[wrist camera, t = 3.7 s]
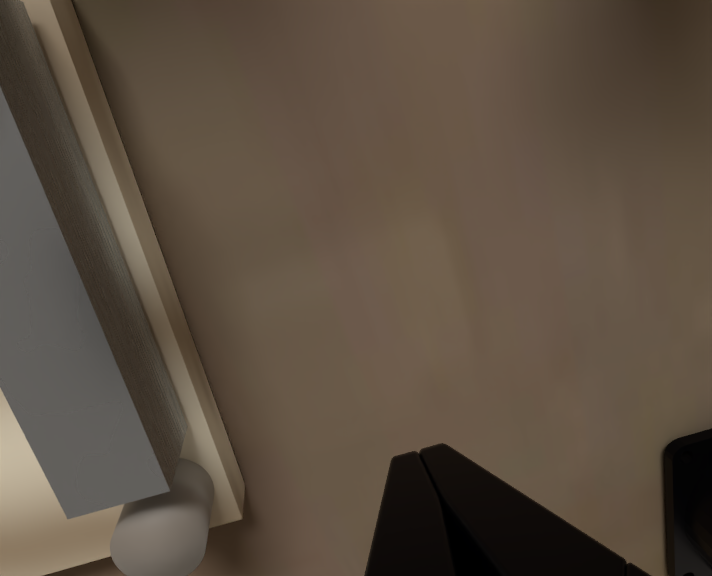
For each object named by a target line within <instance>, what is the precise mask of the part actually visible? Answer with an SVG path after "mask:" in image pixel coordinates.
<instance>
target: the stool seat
mask: <svg viewBox="0 0 712 576" xmlns="http://www.w3.org/2000/svg"><path fill="white" fill-rule="evenodd" d="M20 1H23V2H24V5H25V8H26V10H27V13H28V15H29V18H30V20H31V23H32V26H33V28H34V31H35V33H36V36H37V39H38V41H39V44H40V46H41V49H42V51H43V54H44V57H45V59H46V62H47V64H48V67H49V70H50V72H51V75H52V77H53V80H54V82H55V85H56V88H57V90H58V93H59V95H60V98H61V101H62V103H63V106H64V108H65V111H66V114H67V116H68V119H69V121H70V124H71V126H72V129H73V132H74V134H75V137H76V139H77V142H78V145H79V147H80V150H81V152H82V155H83V157H84V160H85V163H86V165H87V168H88V170H89V173H90V176H91V178H92V181H93V183H94V186H95V189H96V191H97V194H98V196H99V199H100V201H101V204H102V207H103V209H104V212H105V214H106V217H107V220H108V222H109V225H110V227H111V230H112V232H113V235H114V238H115V240H116V243H117V245H118V248H119V251H120V253H121V256H122V258H123V261H124V263H125V266H126V269H127V271H128V274H129V276H130V279H131V282H132V284H133V287H134V289H135V292H136V295H137V297H138V300H139V302H140V305H141V307H142V310H143V313H144V315H145V318H146V320H147V323H148V326H149V328H150V331H151V333H152V336H153V338H154V341H155V344H156V346H157V349H158V351H159V354H160V357H161V359H162V362H163V364H164V367H165V369H166V372H167V375H168V377H169V380H170V382H171V385H172V388H173V390H174V393H175V395H176V398H177V401H178V403H179V406H180V408H181V411H182V413H183V416H184V419H185V421H186V424H187V426H188V427H187V431H186V434H185V438H184V442H183V446H182V449H181V453H180V457H179V460H178V464H177V468H176V472H175V475H174V479H173V483H172V486H171V490H170V491H169V492H165V493H162V494H158V495H155V496H151V497H147V498H144V499H140V500H136V501H133V502H129V503H126V504H122V505H118V506H115V507H111V508H108V509H104V510H100V511H97V512H93V513H90V514H86V515H82V516H79V517H75V518H72V519H67V517H66V515H65V513H64V511H63V509H62V507H61V505H60V504H59V502H58V500H57V498H56V496H55V494H54V492H53V490H52V488H51V486H50V484H49V482H48V480H47V478H46V476H45V474H44V472H43V470H42V468H41V466H40V464H39V463H38V461H37V459H36V457H35V455H34V453H33V451H32V449H31V447H30V445H29V443H28V441H27V439H26V437H25V435H24V433H23V431H22V429H21V427H20V425H19V423H18V422H17V420H16V418H15V416H14V414H13V412H12V410H11V408H10V406H9V404H8V402H7V400H6V398H5V396H4V394H3V392H2V390H1V388H0V576H43V575H46V574H50V573H53V572H57V571H60V570H64V569H68V568H71V567H75V566H78V565H82V564H85V563H89V562H92V561H96V560H99V559H103V558H106V557H110V556H111V557H112V559H113V561H114V563H115V565H116V566H117V567H118V569H119V570H121V571H122V572H123V573H124V574H126V575H127V576H187V575H188V574H190V573H191V572H192V571H194V570H195V569H196V568H197V567H198V565H199V564H200V563H201V561H202V559H203V557H204V554H205V550H206V544H207V537H208V531H209V528H213V527H216V526H220V525H223V524H227V523H230V522H234V521H237V520H241V519H242V518H243V505H244V492H245V483H244V480H243V477H242V475H241V472H240V469H239V466H238V464H237V461H236V458H235V455H234V452H233V450H232V447H231V444H230V441H229V439H228V436H227V433H226V430H225V427H224V425H223V422H222V419H221V416H220V413H219V411H218V408H217V405H216V402H215V400H214V397H213V394H212V391H211V388H210V386H209V383H208V380H207V377H206V374H205V372H204V369H203V366H202V363H201V361H200V358H199V355H198V352H197V349H196V347H195V344H194V341H193V338H192V336H191V333H190V330H189V327H188V324H187V322H186V319H185V316H184V313H183V310H182V308H181V305H180V302H179V299H178V297H177V294H176V291H175V288H174V285H173V283H172V280H171V277H170V274H169V272H168V269H167V266H166V263H165V260H164V258H163V255H162V252H161V249H160V246H159V244H158V241H157V238H156V235H155V233H154V230H153V227H152V224H151V221H150V219H149V216H148V213H147V210H146V208H145V205H144V202H143V199H142V196H141V194H140V191H139V188H138V185H137V182H136V180H135V177H134V174H133V171H132V169H131V166H130V163H129V160H128V157H127V155H126V152H125V149H124V146H123V143H122V141H121V138H120V135H119V132H118V130H117V127H116V124H115V121H114V118H113V116H112V113H111V110H110V107H109V105H108V102H107V99H106V96H105V93H104V91H103V88H102V85H101V82H100V79H99V77H98V74H97V71H96V68H95V66H94V63H93V60H92V57H91V54H90V52H89V49H88V46H87V43H86V41H85V38H84V35H83V32H82V29H81V27H80V24H79V21H78V18H77V15H76V13H75V10H74V7H73V4H72V2H71V0H20Z"/></svg>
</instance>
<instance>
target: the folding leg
mask: <svg viewBox="0 0 712 576" xmlns="http://www.w3.org/2000/svg"><path fill="white" fill-rule="evenodd" d="M0 388H1V390H2V392H3V394H4V396H5V398H6V400H7V402H8V404H9V406H10V408H11V410H12V412H13V414H14V416H15V418H16V420H17V422H18V423H19V425H20V427H21V429H22V431H23V433H24V435H25V437H26V439H27V441H28V443H29V445H30V447H31V449H32V451H33V453H34V455H35V457H36V459H37V461H38V463H39V464H40V466H41V468H42V470H43V472H44V474H45V476H46V478H47V480H48V482H49V484H50V486H51V488H52V490H53V492H54V494H55V496H56V498H57V500H58V502H59V504H60V505H61V507H62V509H63V511H64V513H65V515H66V517H67V519H72V518H75V517H79V516H82V515H86V514H90V513H93V512H97V511H100V510H104V509H108V508H111V507H115V506H118V505H122V504H126V503H129V502H133V501H136V500H140V499H144V498H147V497H151V496H155V495H158V494H162V493H165V492H169V491H170V490H171V486H172V483H173V479H174V475H175V472H176V468H177V464H178V460H179V457H180V453H181V449H182V446H183V442H184V438H185V434H186V431H187V427H188V426H187V424H186V421H185V419H184V416H183V413H182V411H181V408H180V406H179V403H178V401H177V398H176V395H175V393H174V390H173V388H172V385H171V382H170V380H169V377H168V375H167V372H166V369H165V367H164V364H163V362H162V359H161V357H160V354H159V351H158V349H157V346H156V344H155V341H154V338H153V336H152V333H151V331H150V328H149V326H148V323H147V320H146V318H145V315H144V313H143V310H142V307H141V305H140V302H139V300H138V297H137V295H136V292H135V289H134V287H133V284H132V282H131V279H130V276H129V274H128V271H127V269H126V266H125V263H124V261H123V258H122V256H121V253H120V251H119V248H118V245H117V243H116V240H115V238H114V235H113V232H112V230H111V227H110V225H109V222H108V220H107V217H106V214H105V212H104V209H103V207H102V204H101V201H100V199H99V196H98V194H97V191H96V189H95V186H94V183H93V181H92V178H91V176H90V173H89V170H88V168H87V165H86V163H85V160H84V157H83V155H82V152H81V150H80V147H79V145H78V142H77V139H76V137H75V134H74V132H73V129H72V126H71V124H70V121H69V119H68V116H67V114H66V111H65V108H64V106H63V103H62V101H61V98H60V95H59V93H58V90H57V88H56V85H55V82H54V80H53V77H52V75H51V72H50V70H49V67H48V64H47V62H46V59H45V57H44V54H43V51H42V49H41V46H40V44H39V41H38V39H37V36H36V33H35V31H34V28H33V26H32V23H31V20H30V18H29V15H28V13H27V10H26V8H25V5H24V2H23V1H20V0H0Z"/></svg>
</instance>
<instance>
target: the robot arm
mask: <svg viewBox="0 0 712 576" xmlns="http://www.w3.org/2000/svg"><path fill="white" fill-rule="evenodd" d="M682 453H683V454H682ZM681 454H682V455H681ZM664 458H665V491H666V524H667V557H668V575H669V576H712V429H709V430H705V431H702V432H698V433H695V434H691V435H688V436H684V437H681V438H677V439H675V440H673V441H672V442H671V443H669V444H668V446H667V447H666V449H665V454H664ZM364 576H651V575H649V574H648V573H646V572H645V571H643V570H642V569H640V568H638V567H637V566H635V565H634V564H632V563H628V564H626V560H625V559H624V558H622V557H621V556H619V555H618V554H616V553H615V552H613V551H612V550H610V549H608V548H607V547H605V546H604V545H602V544H601V543H599V542H598V541H596V540H594V539H593V538H591V537H590V536H588V535H587V534H585V533H584V532H582V531H580V530H579V529H577V528H576V527H574V526H573V525H571V524H570V523H568V522H566V521H565V520H563V519H562V518H560V517H559V516H557V515H556V514H554V513H552V512H551V511H549V510H548V509H546V508H545V507H543V506H542V505H540V504H538V503H537V502H535V501H534V500H532V499H531V498H529V497H528V496H526V495H524V494H523V493H521V492H520V491H518V490H517V489H515V488H514V487H512V486H510V485H509V484H507V483H506V482H504V481H503V480H501V479H500V478H498V477H496V476H495V475H493V474H492V473H490V472H489V471H487V470H486V469H484V468H482V467H481V466H479V465H478V464H476V463H475V462H473V461H472V460H470V459H468V458H467V457H465V456H464V455H462V454H461V453H459V452H458V451H456V450H454V449H453V448H451V447H450V446H448V445H446V444H443V443H441V444H437V445H433V446H430V447H426V448H423V449H421V450H420V452H419V453H418V452H416V451H412V452H408V453H405V454H401V455H397V456H395V457H393V458H392V460H391V463H390V467H389V471H388V476H387V480H386V484H385V489H384V493H383V497H382V502H381V506H380V510H379V515H378V519H377V523H376V528H375V532H374V536H373V541H372V545H371V549H370V553H369V558H368V562H367V566H366V571H365V575H364Z"/></svg>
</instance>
